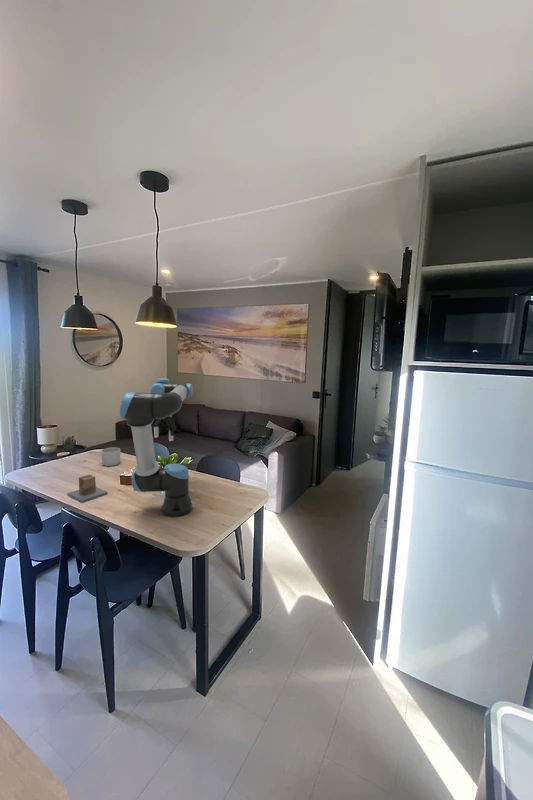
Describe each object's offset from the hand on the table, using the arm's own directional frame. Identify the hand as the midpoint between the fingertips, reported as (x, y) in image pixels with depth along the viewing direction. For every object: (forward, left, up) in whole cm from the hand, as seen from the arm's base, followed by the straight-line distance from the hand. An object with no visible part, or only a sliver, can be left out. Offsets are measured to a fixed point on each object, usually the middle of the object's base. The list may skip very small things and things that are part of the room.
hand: (163, 439), depth 193 cm
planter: (+60, -2, -29) cm, 67 cm away
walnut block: (+22, +35, -27) cm, 50 cm away
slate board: (+22, +35, -29) cm, 50 cm away
